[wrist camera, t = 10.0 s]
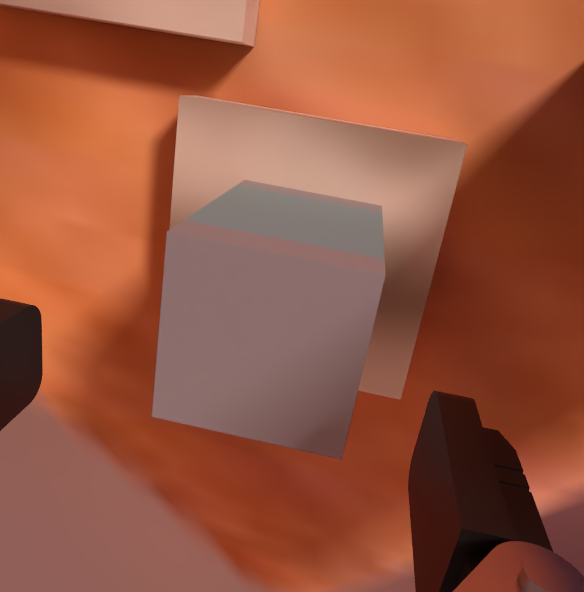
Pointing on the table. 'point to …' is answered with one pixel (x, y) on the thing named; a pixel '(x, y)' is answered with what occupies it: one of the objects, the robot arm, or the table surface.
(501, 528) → the robot arm
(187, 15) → the stand
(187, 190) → the stand
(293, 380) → the block
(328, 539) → the table surface
